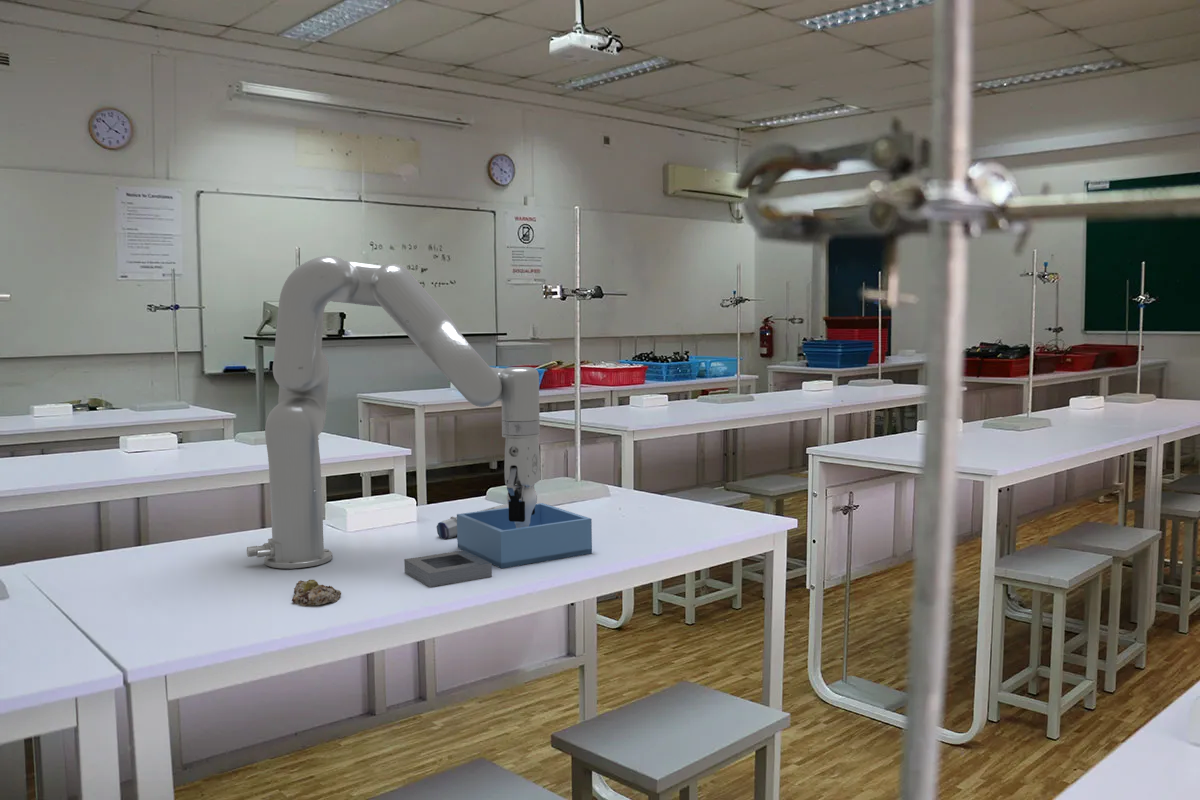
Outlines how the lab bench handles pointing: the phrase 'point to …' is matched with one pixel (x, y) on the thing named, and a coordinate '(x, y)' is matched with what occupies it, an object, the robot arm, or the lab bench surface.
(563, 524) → the bin
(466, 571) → the socket block
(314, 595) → the mineral rock
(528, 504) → the lightbulb
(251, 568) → the lab bench surface
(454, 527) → the flashlight
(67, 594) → the lab bench surface
